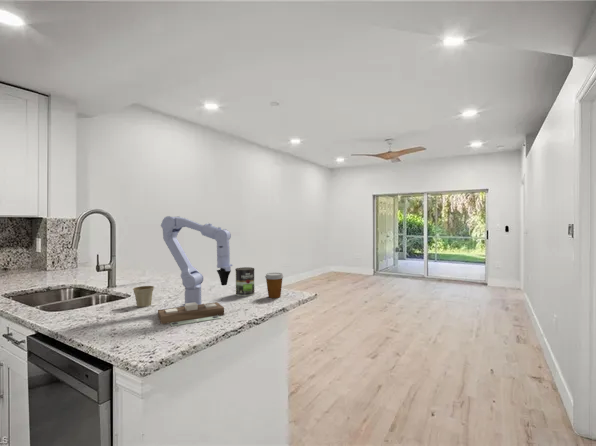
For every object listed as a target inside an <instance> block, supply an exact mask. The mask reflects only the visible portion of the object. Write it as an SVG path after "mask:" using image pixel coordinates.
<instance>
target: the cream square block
mask: <svg viewBox="0 0 596 446" xmlns="http://www.w3.org/2000/svg"><path fill="white" fill-rule="evenodd" d="M173 308H174V309H169V308H165V309H166V310H165V314H169V313H176V312H178V310H177V309H176V308H177V307H173Z"/></svg>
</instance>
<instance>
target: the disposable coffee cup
mask: <svg viewBox="0 0 596 446" xmlns="http://www.w3.org/2000/svg"><path fill="white" fill-rule="evenodd" d="M264 277H265V279H266V280H265V281H266V287H267V295H268V298H270V299H279V298H281V296H282V295H281V294H282V287H283V286H282V285H283V278H284V275H283V273H281V272H268V273H265V276H264Z"/></svg>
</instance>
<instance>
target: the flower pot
mask: <svg viewBox="0 0 596 446" xmlns="http://www.w3.org/2000/svg"><path fill="white" fill-rule="evenodd" d="M154 289H155V286H154V285H143V286H136V287H133V288H132V290H133V293H134V296H135V302H136V307H138V308H146V307H149V306H151V305H152V300H153V294H154V293H153V292H154Z"/></svg>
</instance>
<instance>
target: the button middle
mask: <svg viewBox="0 0 596 446" xmlns="http://www.w3.org/2000/svg"><path fill="white" fill-rule="evenodd" d="M184 304H185V303H184ZM197 309H198V304H197V303H196V302H194V303H186V304H185V310H186V311H190V310H197Z"/></svg>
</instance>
